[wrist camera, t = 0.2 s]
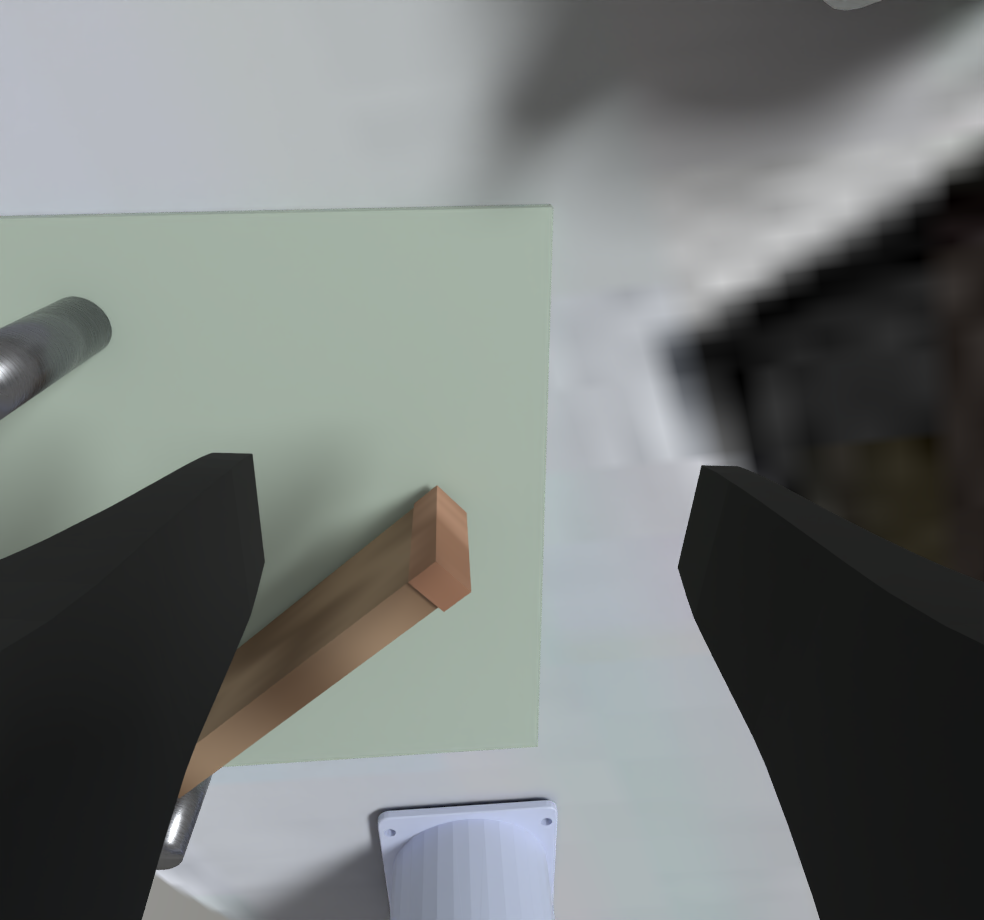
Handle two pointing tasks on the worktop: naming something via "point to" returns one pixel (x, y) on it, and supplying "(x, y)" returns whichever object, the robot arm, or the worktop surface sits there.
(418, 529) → the wooden block
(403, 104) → the worktop surface
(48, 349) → the dark gray metal cylinder
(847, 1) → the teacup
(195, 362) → the gate mat
